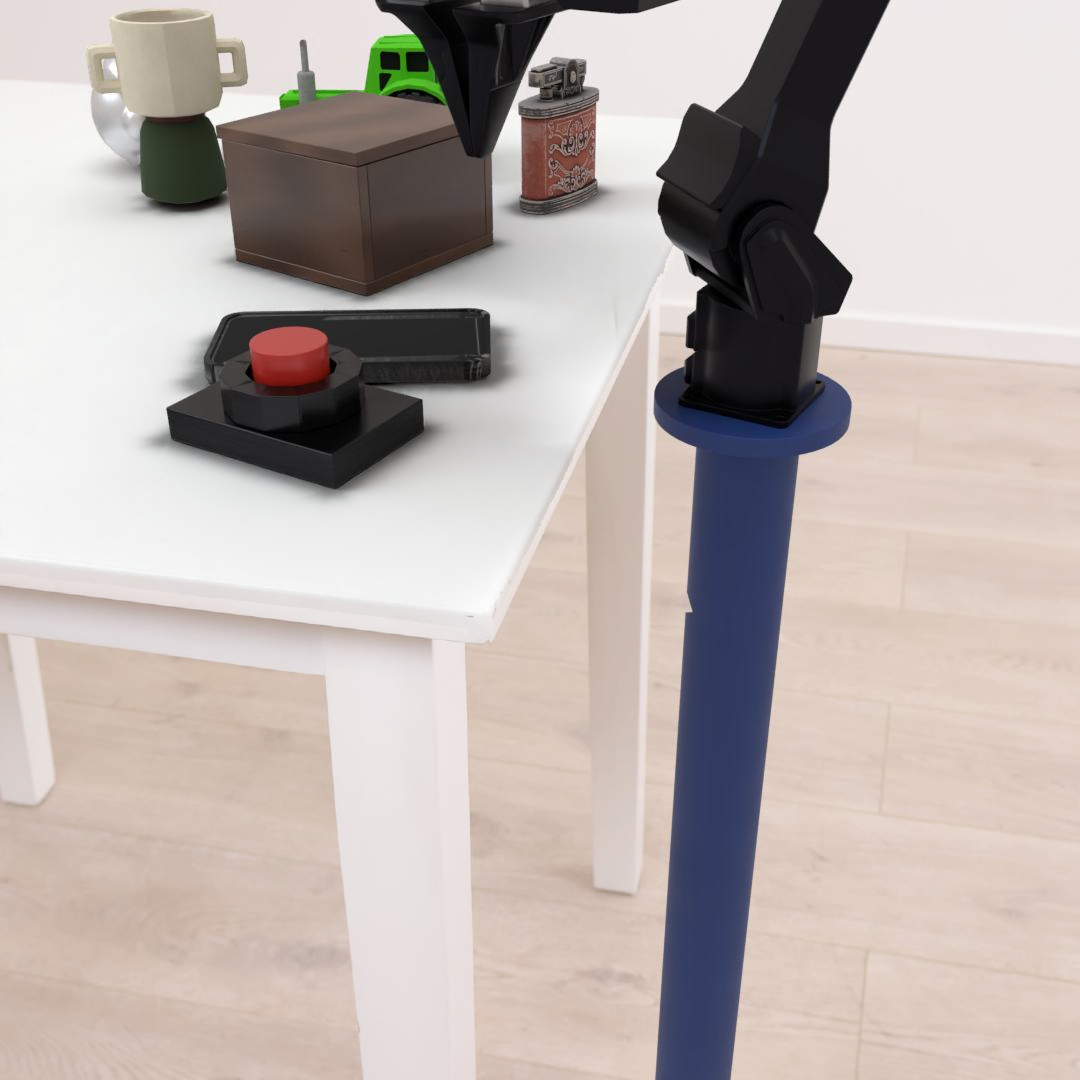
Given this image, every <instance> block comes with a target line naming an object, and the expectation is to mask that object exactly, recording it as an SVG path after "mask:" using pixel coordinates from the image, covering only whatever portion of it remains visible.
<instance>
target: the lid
mask: <svg viewBox="0 0 1080 1080" xmlns="http://www.w3.org/2000/svg"><path fill="white" fill-rule="evenodd" d="M215 132H216V136H217V139H220V140H222V139H223V140H228V141H233V142H238V143H243V144H248V145H253V146H258V147H263V148H268V149H273V150H278V151H283V152H288V153H293V154H298V155H303V156H308V157H313V158H318V159H322V160H327V161H332V162H337V163H342V164H347V165H352V166H361V165H364V164H367V163H370V162H374V161H377V160H380V159H383V158H387V157H390V156H393V155H396V154H400V153H403V152H406V151H409V150H412V149H416V148H419V147H422V146H425V145H429V144H432V143H435V142H438V141H442V140H445V139H448V138H451V137H455V136H458V135H459V134H458V132H457V129H456V127H455V124H454V121H453V119H452V116H451V113H450V111H449V108H448V106H445V105H439V104H433V103H427V102H420V101H414V100H408V99H402V98H396V97H390V96H383V95H377V94H371V93H365V92H359V91H352V92H348V93H344V94H340V95H336V96H332V97H328V98H324V99H320V100H316V101H312V102H308V103H304V104H300V105H296V106H292V107H288V108H284V109H280V108H279V109H276V110H273V111H268V112H264V113H260V114H255V115H252V116H248V117H244V118H241V119H237V120H232V121H229V122H228V121H227V122H224V123H220V124H216V125H215Z"/></svg>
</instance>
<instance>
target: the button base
mask: <svg viewBox="0 0 1080 1080" xmlns="http://www.w3.org/2000/svg"><path fill="white" fill-rule="evenodd" d="M328 348H329V359H330V370H331V373H330V375H329V376H327V377H325V378H323V379H321V380H320V381H318V382H313V383H308V384H304V385H299V386H269V385H266V384H262V383H258V382H255V381H254V378H253V372H252V364H251V355H250V350H248V351H246V352H244V353H242V354H240V355H238V356H236V357H234V358H232V359H230V360H228V361H226V363H225V365H224V367H223V368H222V370H221V372H220V374H219V381H218V382H216V383H214V384H212V383H211V384H210V385H208V386H206V387H204V388H202V389H200V390H198V391H196V392H194V393H193V394H190V395H189V396H186V397H184V398H182V399H180V400H178V401H176V402H174V403H172V404H171V405H169V406H167V407H166V408H165V410H166V416H167V422H168V430H169V435H170V439H171V440H173V441H176V442H180V443H183V444H187V445H190V446H193V447H196V448H199V449H203V450H206V451H210V452H213V453H216V454H220V455H223V456H225V457H226V456H227V457H230V458H233V459H236V460H238V461H239V460H240V461H243V462H246V463H249V464H252V465H256V466H259V467H262V468H266V469H269V470H273V471H276V472H279V473H283V474H286V475H289V476H293V477H295V478H299V479H303V480H304V481H305V480H306V481H309V482H312V483H315V484H319V485H323V486H325V487H329V488H332V489H336V488H338V487H340V486H341V485H343V484H344V483H346V482H348V481H350V480H351V479H352V478H354V477H355V476H356V475H358V474H360V473H361V472H363V471H364V470H366V469H368V468H369V467H370V466H372V465H373V464H375V463H377V462H378V461H379V460H381V459H382V458H384V457H386V456H387V455H388V454H390V453H392V452H394V451H395V450H396V449H398V448H399V447H401V446H402V445H404V444H405V443H407V442H409V441H410V440H412V439H413V438H415V437H416V436H417V435H419V434H421V433H423V431H425V417H424V416H425V415H424V414H425V413H424V399H423V398H422V397H421V398H420V397H416V396H412V395H408V394H405V393H400V392H397V391H393V390H389V389H385V388H381V387H377V386H373V385H369V384H367V383H364V372H363V361H362V360H361V359H360V358H359V357H357V356H356V355H355V354H354V353H353V352H352V351H351V350H349V349H347V348H342V347H338V346H334V345H330V344H328Z"/></svg>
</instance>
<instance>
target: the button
mask: <svg viewBox="0 0 1080 1080" xmlns="http://www.w3.org/2000/svg"><path fill="white" fill-rule="evenodd" d="M249 347H250V355H251V364H252V372H253V378H254V381H255V382H258V383H262V384H266V385H269V386H299V385H304V384H308V383H313V382H318V381H320V380H321V379H323V378H325V377H327V376H329V375H330V373H331V370H330V359H329V348H328V338H327V336H326V335H325V334H324V333H323V332H321V331H319V330H317V329H313V328H307V327H281V328H275V329H271V330H267V331H264V332H262V333H259V334H257V335H256V336H254V337H253V338H252V339H251V340H250V343H249Z"/></svg>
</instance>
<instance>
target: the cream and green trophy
mask: <svg viewBox="0 0 1080 1080" xmlns="http://www.w3.org/2000/svg"><path fill="white" fill-rule="evenodd" d="M108 21H109V22H108V23H109V30H110V37H111V42H112V43H99V44H92V45H89V46H87V47H86V49H85V58H86V64H87V70H88V77H89V82H90V87H91V88H92V89H93V90H94V92H96V93H100V94H110V93H121V99H122V100H123V102H124V104H125V105H126V107H127V109H128V110H129V112H132V113H135V114H139V115H142V116H145V117H146V119H145V120H144V121H143V123H142V126H141V129H140V165H139V168H140V169H139V171H140V186H141V192H142V194H143V195H144V196H145V197H146V198H150V199H152V200H154V201H158V202H162V203H169V204H176V205H181V204H182V205H183V204H194V203H200V202H203V201H207V200H209V199H213V198H216V197H217V196H219V195H221V194H222V193H224V192H226V191H227V190H228V188H227V180H226V172H225V164H224V157H223V153H222V150H221V148H220V144H219V140H218V139H219V138H217V134H216V127H215V126H214V124H213V122H212V121H211V120H210V118H209V117H208V116H207V115H206V116H205V112H206V113H208V112H210V111H212V110H214V109H216V108H219V106H220V105H221V101H222V98H223V93H224V91H223V90H224V89H223V88H237V87H242V86H245V85H247V84H248V79H249V73H248V72H249V71H248V63H247V56H246V55H247V54H246V47H245V44H244V42H243V40H242V39H240V38H236V37H229V38H217V33H216V24H215V17H214V13H212V12H211V11H209V10H206V9H200V8H190V7H152V8H150V7H149V8H140V9H135V10H128V11H127V10H126V11H123V12H119V13H114V14H113V15H111V16H110V17H109V18H108ZM219 54H231V59H232V60H231V61H232V68H233V72H223V73H221V66H220V56H219ZM110 58H115V62H116V68H117V75H118V79H105V78H104V74H103V61H102V60H104V59H110Z"/></svg>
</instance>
